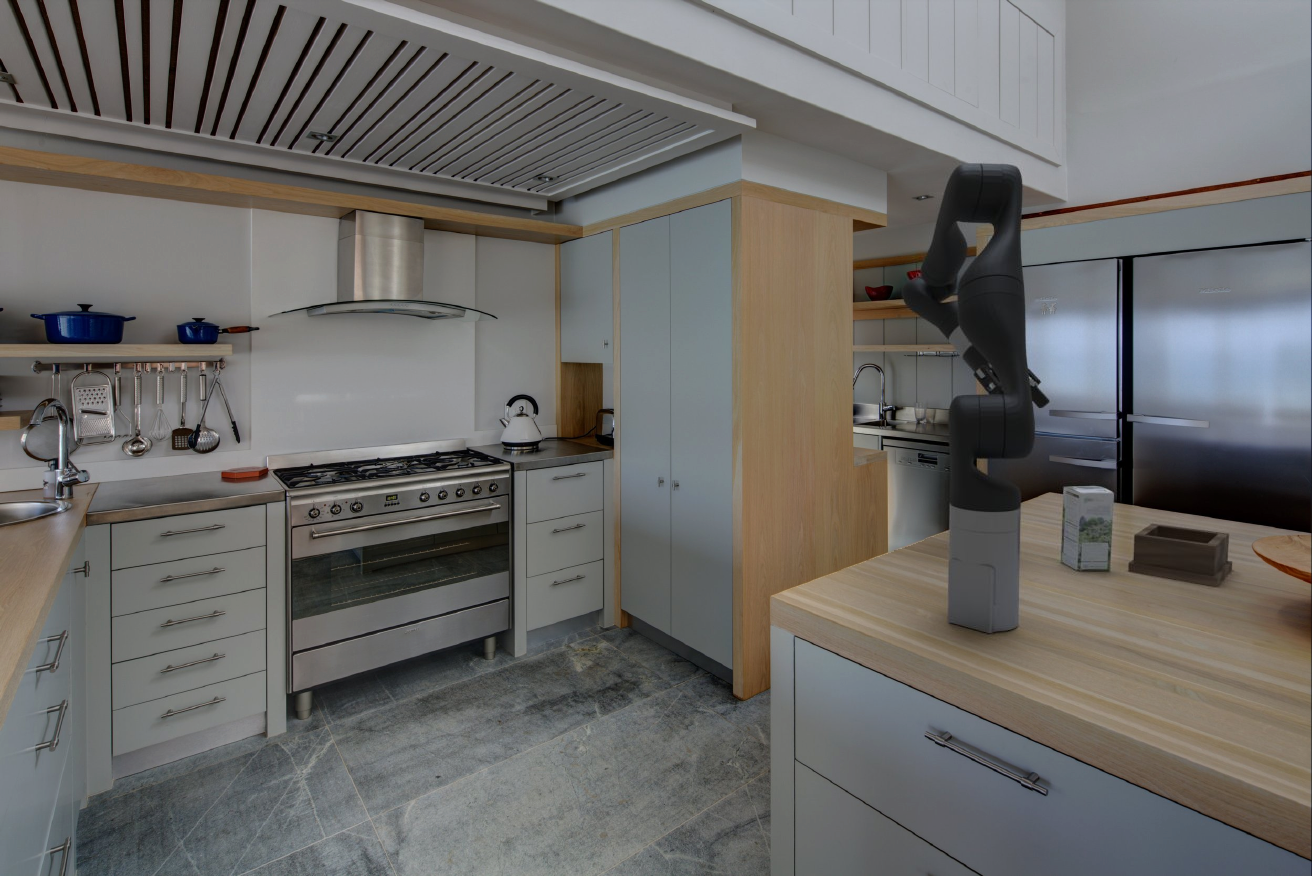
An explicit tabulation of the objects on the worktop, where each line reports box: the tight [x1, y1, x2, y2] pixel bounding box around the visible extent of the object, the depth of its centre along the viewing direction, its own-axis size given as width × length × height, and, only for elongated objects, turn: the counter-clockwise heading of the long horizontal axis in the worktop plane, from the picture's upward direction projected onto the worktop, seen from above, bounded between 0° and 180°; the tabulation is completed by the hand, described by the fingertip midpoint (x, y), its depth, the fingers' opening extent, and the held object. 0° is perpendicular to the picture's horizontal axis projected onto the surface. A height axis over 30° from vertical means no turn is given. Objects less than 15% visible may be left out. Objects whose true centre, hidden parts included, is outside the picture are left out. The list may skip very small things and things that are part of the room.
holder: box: [1127, 523, 1233, 588], centre depth 113 cm, size 12×12×6 cm
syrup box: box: [1060, 485, 1115, 572], centre depth 117 cm, size 6×6×14 cm
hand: (1033, 407), depth 122 cm, fingers open, 8 cm apart
